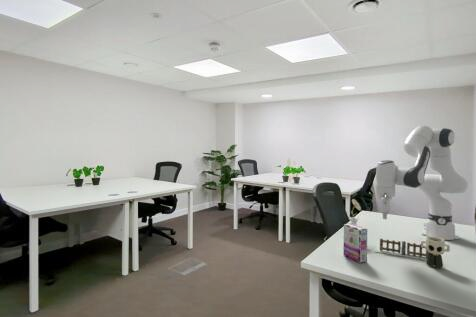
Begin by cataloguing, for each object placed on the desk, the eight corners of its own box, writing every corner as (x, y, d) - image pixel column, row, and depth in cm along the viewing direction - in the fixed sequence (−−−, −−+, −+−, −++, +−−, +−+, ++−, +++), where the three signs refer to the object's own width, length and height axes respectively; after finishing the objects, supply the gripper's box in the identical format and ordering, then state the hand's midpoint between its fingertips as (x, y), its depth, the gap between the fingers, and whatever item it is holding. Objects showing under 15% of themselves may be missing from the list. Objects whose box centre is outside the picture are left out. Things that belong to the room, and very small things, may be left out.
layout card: (376, 243, 158) (376, 242, 158) (427, 250, 146) (428, 250, 146) (375, 252, 144) (375, 251, 144) (432, 261, 133) (432, 260, 133)
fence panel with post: (401, 254, 142) (402, 240, 141) (429, 258, 136) (429, 244, 136) (401, 255, 140) (402, 241, 140) (429, 259, 135) (429, 245, 134)
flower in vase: (365, 245, 154) (366, 202, 153) (343, 243, 158) (344, 200, 157) (362, 238, 166) (363, 198, 165) (342, 236, 170) (343, 197, 169)
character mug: (420, 266, 127) (421, 239, 126) (420, 261, 133) (420, 234, 132) (450, 272, 121) (450, 243, 120) (448, 266, 127) (449, 238, 126)
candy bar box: (367, 262, 131) (368, 228, 131) (359, 263, 130) (360, 229, 129) (350, 253, 142) (350, 222, 141) (342, 255, 140) (343, 223, 140)
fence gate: (379, 249, 146) (380, 238, 146) (400, 252, 142) (400, 241, 142) (379, 250, 145) (379, 239, 145) (400, 253, 140) (400, 242, 140)
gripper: (393, 195, 128) (392, 224, 129) (391, 189, 147) (391, 215, 147) (378, 194, 131) (377, 222, 132) (378, 189, 149) (378, 213, 150)
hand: (384, 218), depth 140 cm, fingers closed
